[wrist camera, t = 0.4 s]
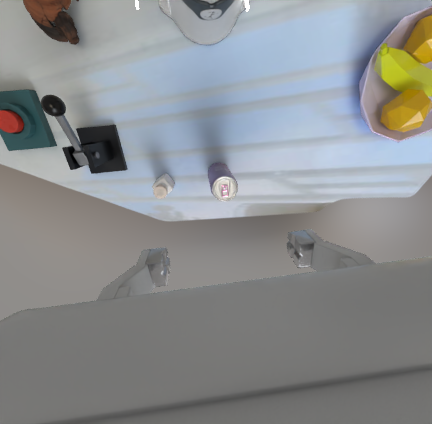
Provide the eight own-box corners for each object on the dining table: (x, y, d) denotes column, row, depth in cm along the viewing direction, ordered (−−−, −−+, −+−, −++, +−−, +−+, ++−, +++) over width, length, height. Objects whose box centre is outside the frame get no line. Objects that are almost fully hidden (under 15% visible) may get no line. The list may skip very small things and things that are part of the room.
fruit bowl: (469, 67, 52) (536, 54, 41) (382, 157, 60) (421, 165, 49) (409, -25, 43) (475, -71, 33) (318, 94, 51) (348, 88, 41)
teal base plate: (-11, 94, 46) (-29, 92, 42) (35, 90, 46) (21, 88, 42) (16, 149, 51) (2, 151, 47) (57, 145, 51) (46, 147, 48)
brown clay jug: (25, 14, 41) (-6, -36, 33) (68, -2, 44) (49, -52, 36) (67, 66, 43) (47, 29, 35) (106, 47, 45) (96, 9, 37)
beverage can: (208, 183, 58) (212, 203, 45) (206, 163, 56) (210, 176, 42) (229, 181, 59) (239, 200, 45) (228, 161, 56) (238, 174, 43)
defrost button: (-3, 111, 44) (-11, 111, 43) (18, 109, 44) (11, 109, 43) (7, 133, 46) (0, 133, 44) (27, 131, 46) (21, 131, 45)
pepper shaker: (166, 171, 56) (160, 181, 47) (175, 182, 58) (172, 194, 49) (155, 180, 57) (148, 191, 48) (165, 191, 58) (159, 203, 50)
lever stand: (78, 128, 50) (44, 130, 39) (115, 125, 50) (92, 126, 39) (93, 172, 55) (66, 186, 43) (127, 169, 55) (109, 181, 44)
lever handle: (41, 92, 35) (31, 99, 33) (61, 91, 36) (53, 97, 33) (81, 158, 45) (75, 167, 43) (97, 157, 45) (92, 165, 43)
